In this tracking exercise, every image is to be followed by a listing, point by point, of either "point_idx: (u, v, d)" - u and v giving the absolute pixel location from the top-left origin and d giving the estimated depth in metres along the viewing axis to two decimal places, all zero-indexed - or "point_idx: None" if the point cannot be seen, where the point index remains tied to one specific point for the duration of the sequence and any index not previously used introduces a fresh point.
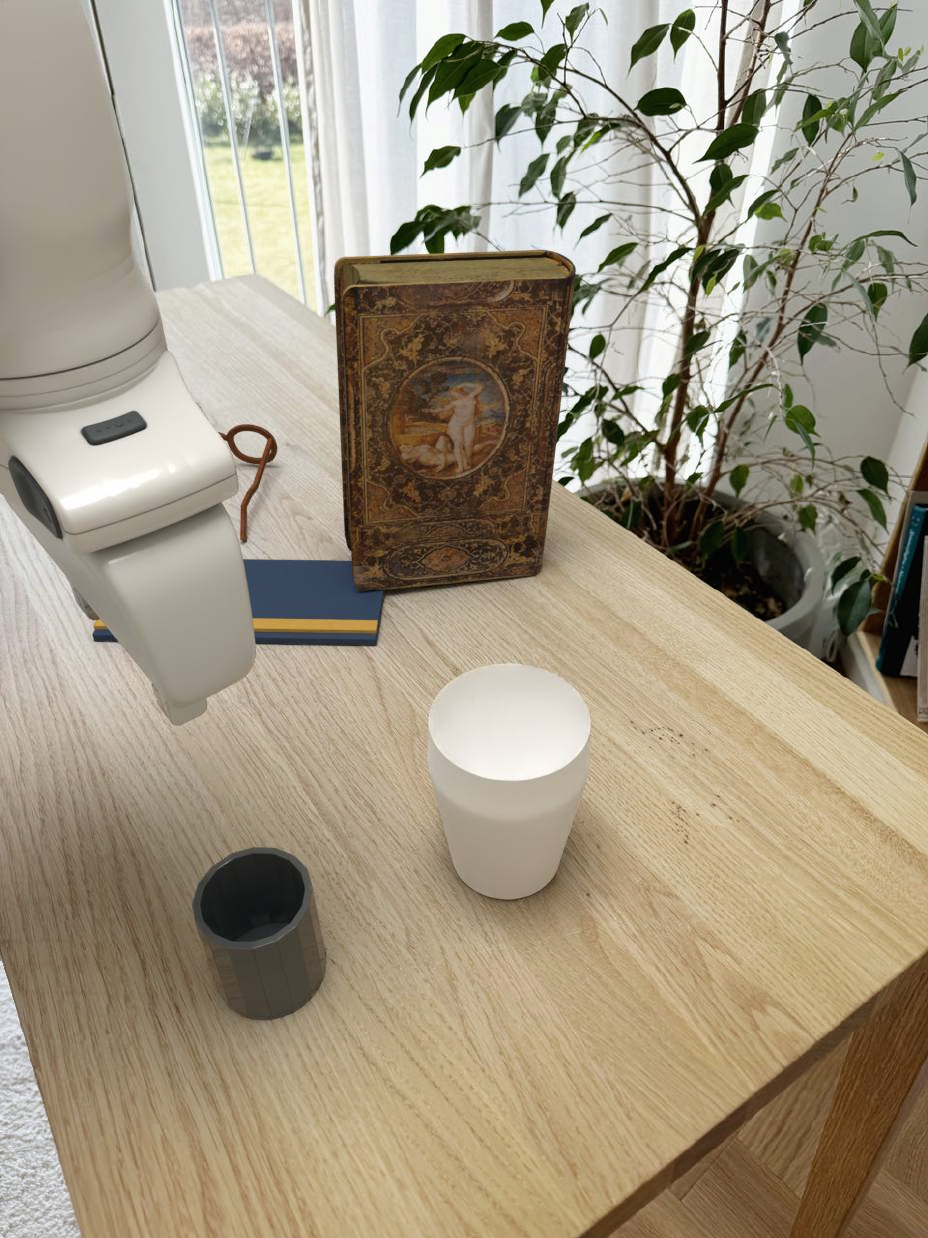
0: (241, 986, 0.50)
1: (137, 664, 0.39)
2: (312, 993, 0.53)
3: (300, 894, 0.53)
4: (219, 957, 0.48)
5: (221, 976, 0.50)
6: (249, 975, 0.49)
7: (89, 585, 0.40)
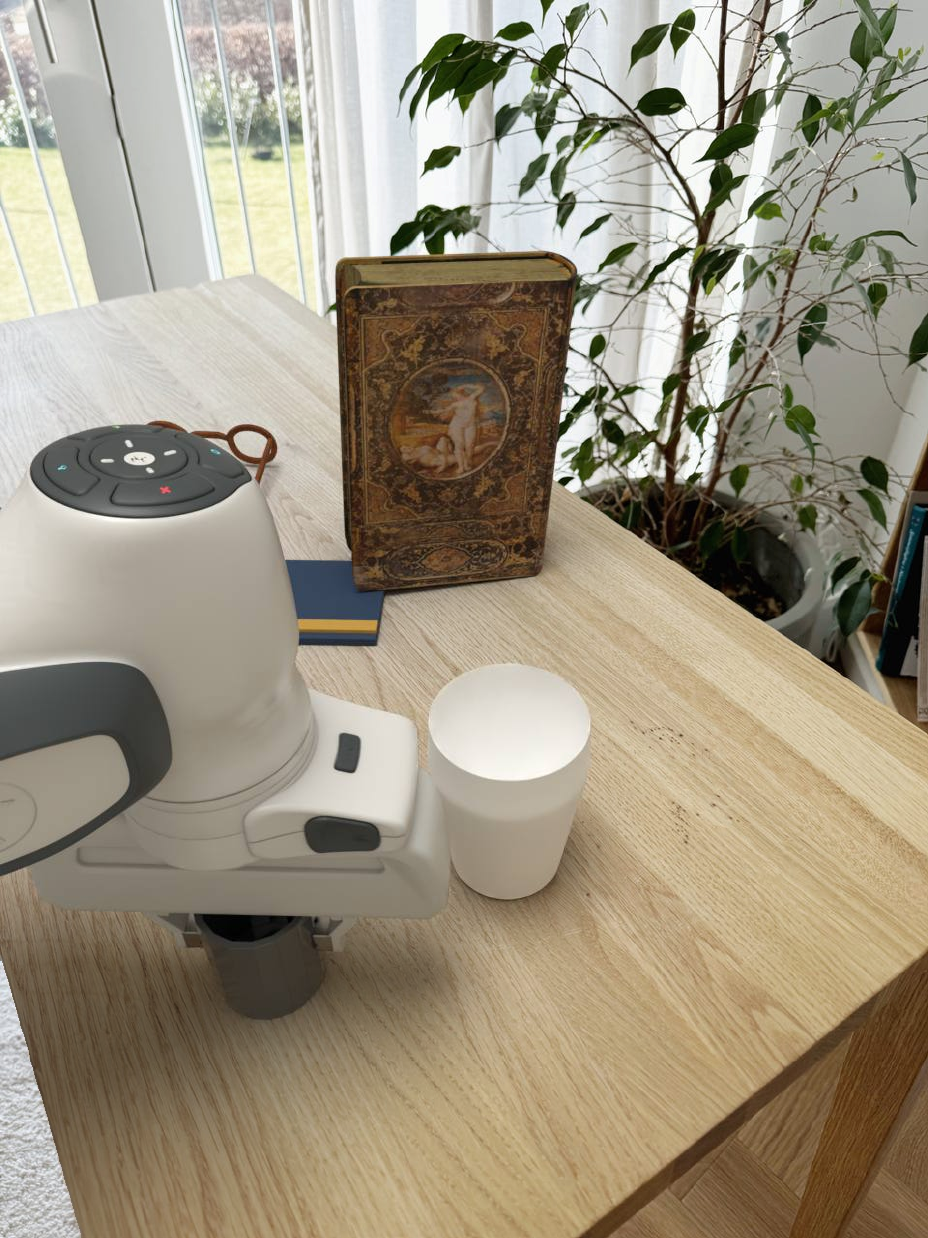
0: (241, 986, 0.50)
1: (371, 916, 0.47)
2: (312, 993, 0.53)
3: None
4: (219, 957, 0.48)
5: (221, 976, 0.50)
6: (249, 975, 0.49)
7: (293, 892, 0.46)
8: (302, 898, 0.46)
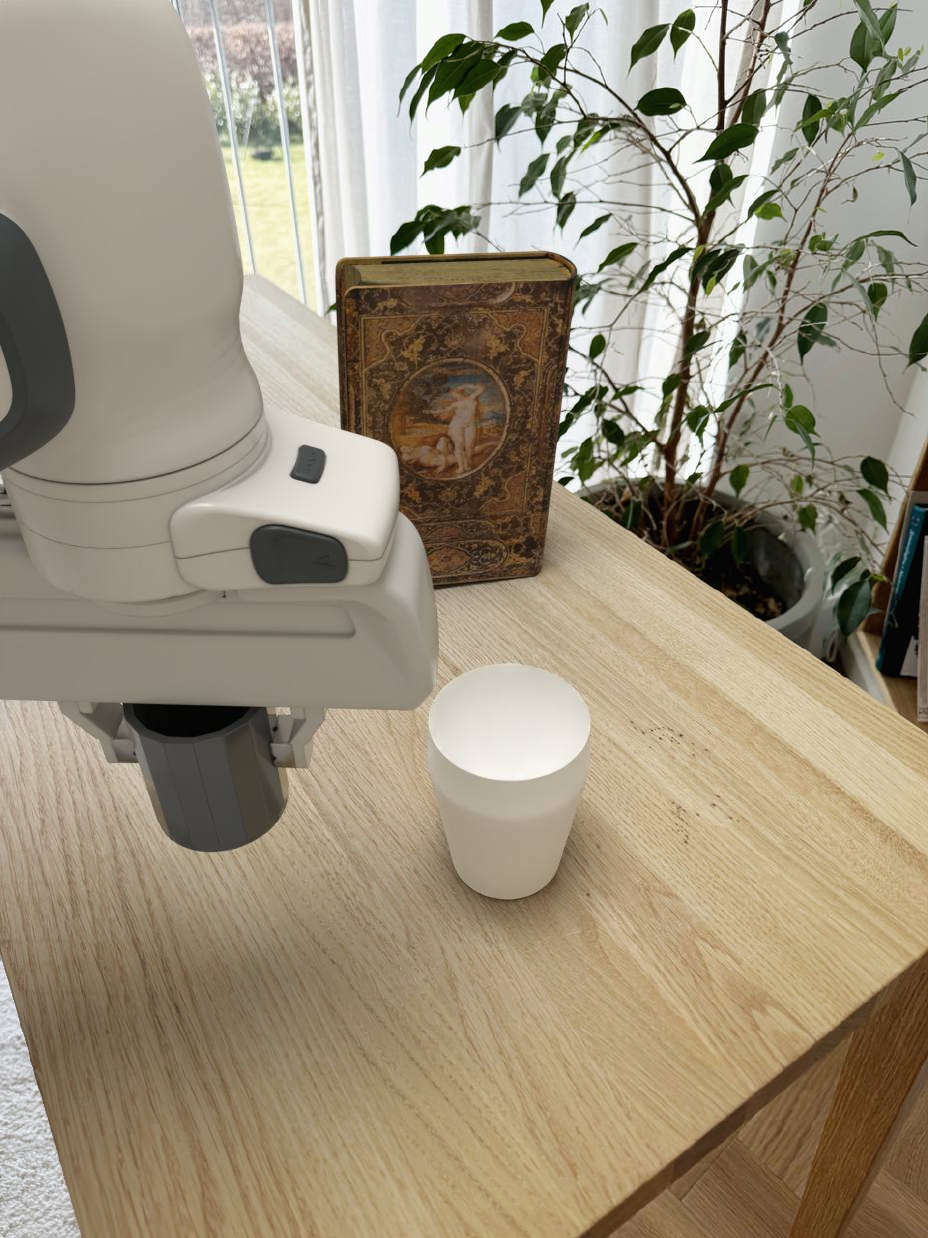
0: (182, 802, 0.41)
1: (340, 704, 0.38)
2: (271, 824, 0.43)
3: None
4: (153, 760, 0.39)
5: (157, 790, 0.41)
6: (191, 785, 0.40)
7: (243, 667, 0.37)
8: (254, 677, 0.37)
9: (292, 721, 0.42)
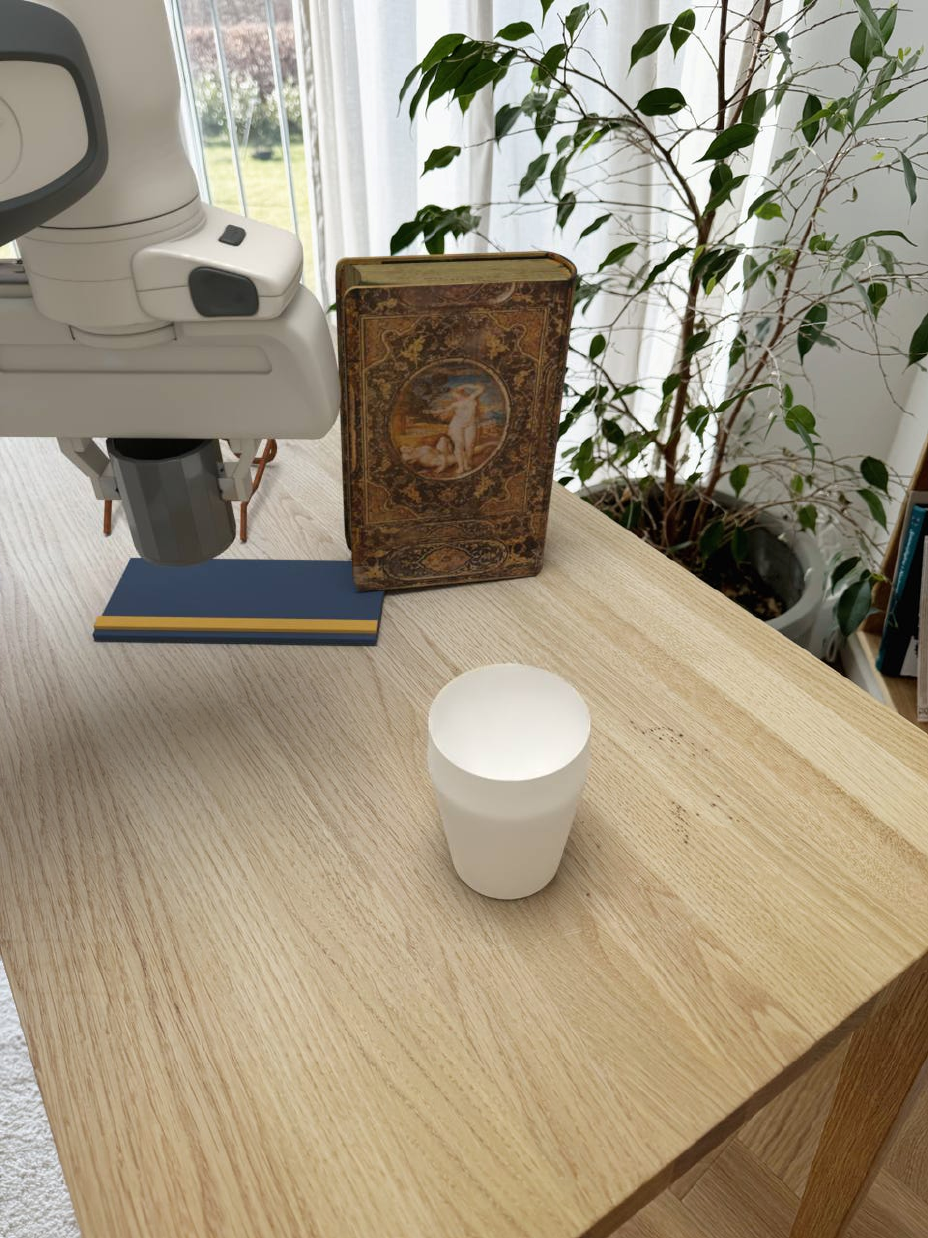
0: (151, 518, 0.54)
1: (265, 434, 0.52)
2: (221, 549, 0.57)
3: None
4: (129, 482, 0.53)
5: (133, 511, 0.55)
6: (157, 502, 0.54)
7: (192, 402, 0.51)
8: (200, 410, 0.51)
9: (235, 465, 0.56)
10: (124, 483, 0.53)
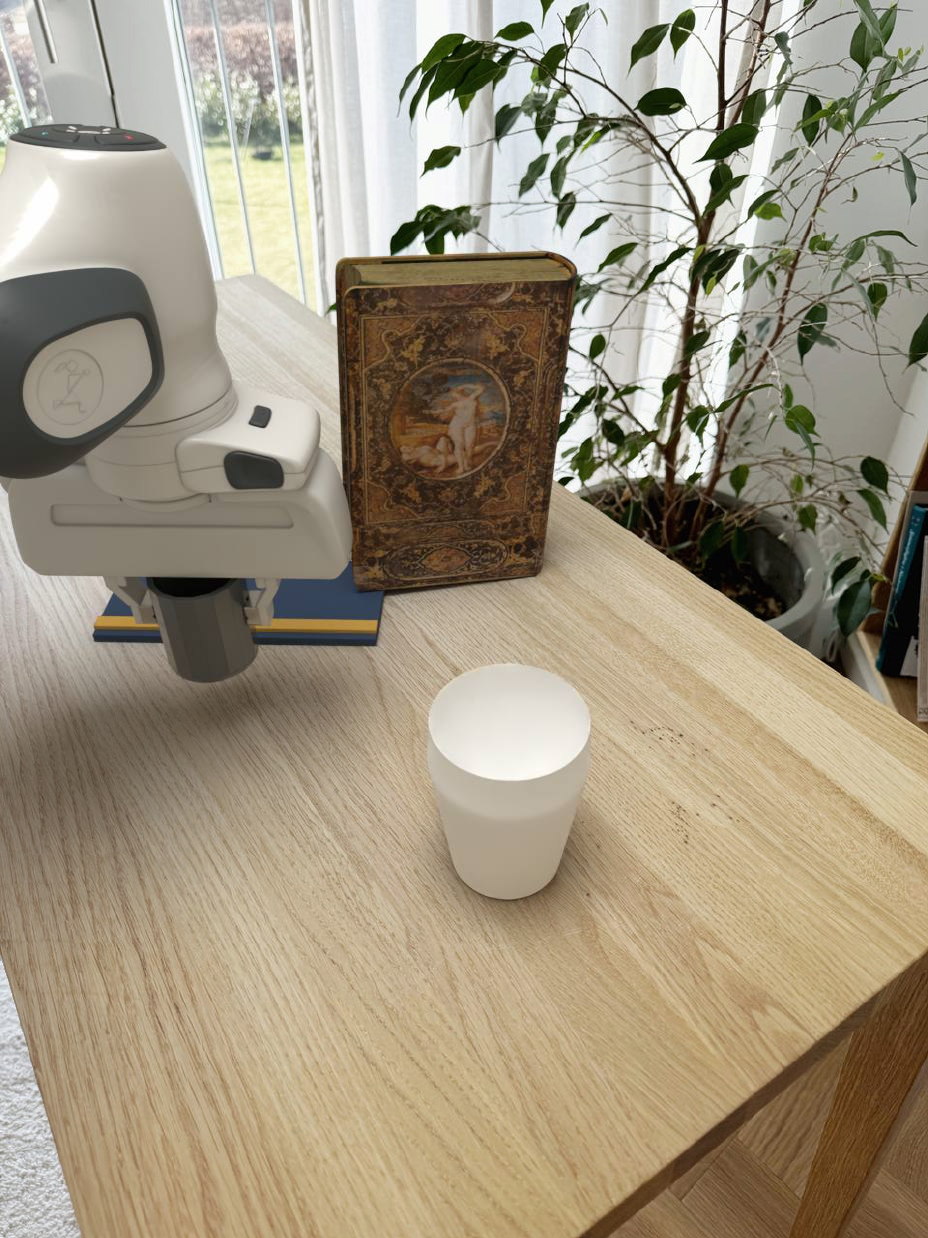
0: (185, 644, 0.62)
1: (287, 575, 0.59)
2: (246, 665, 0.65)
3: None
4: (166, 614, 0.60)
5: (169, 637, 0.62)
6: (191, 631, 0.61)
7: (223, 550, 0.58)
8: (230, 556, 0.58)
9: (258, 594, 0.63)
10: (162, 615, 0.61)
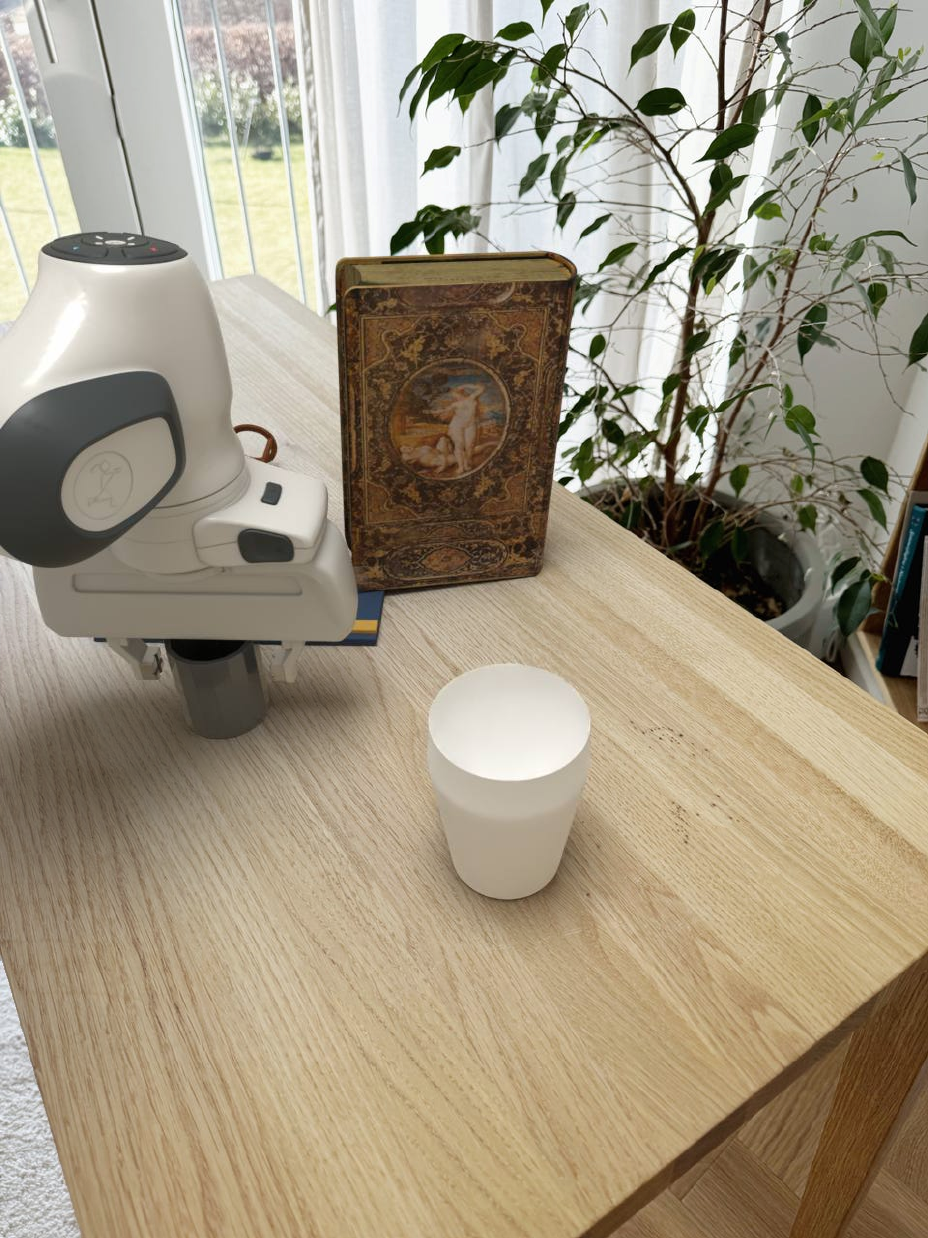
0: (201, 703, 0.65)
1: (295, 638, 0.62)
2: (257, 721, 0.68)
3: None
4: (184, 676, 0.64)
5: (186, 697, 0.65)
6: (207, 692, 0.64)
7: (235, 615, 0.61)
8: (242, 620, 0.62)
9: (283, 652, 0.66)
10: (179, 676, 0.64)
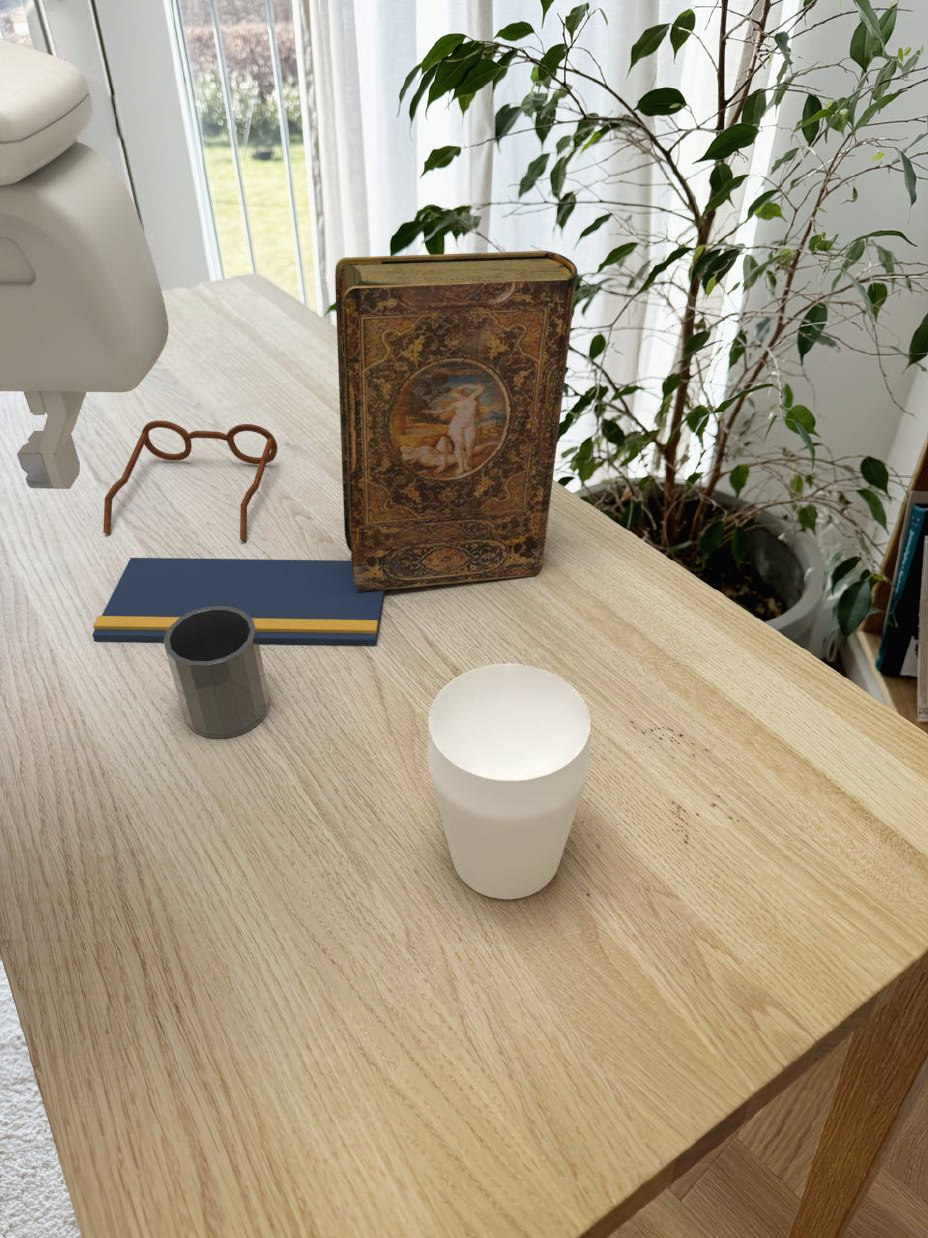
0: (201, 703, 0.65)
1: (42, 383, 0.34)
2: (257, 721, 0.68)
3: None
4: (184, 676, 0.64)
5: (186, 697, 0.65)
6: (207, 692, 0.64)
7: None
8: None
9: None
10: (179, 676, 0.64)
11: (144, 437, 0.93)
